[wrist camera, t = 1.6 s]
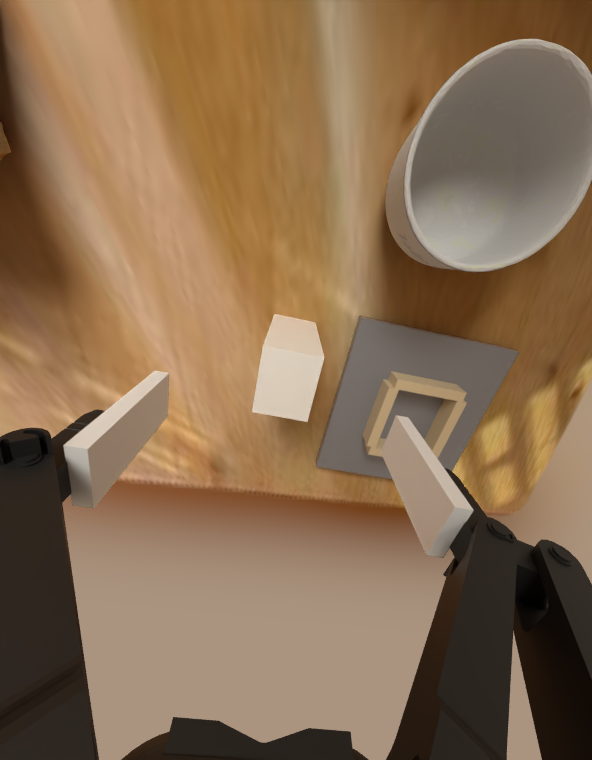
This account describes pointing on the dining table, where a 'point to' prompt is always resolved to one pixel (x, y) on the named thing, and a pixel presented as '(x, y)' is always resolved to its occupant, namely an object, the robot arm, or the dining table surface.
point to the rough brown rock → (3, 143)
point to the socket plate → (409, 394)
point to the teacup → (495, 159)
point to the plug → (289, 369)
